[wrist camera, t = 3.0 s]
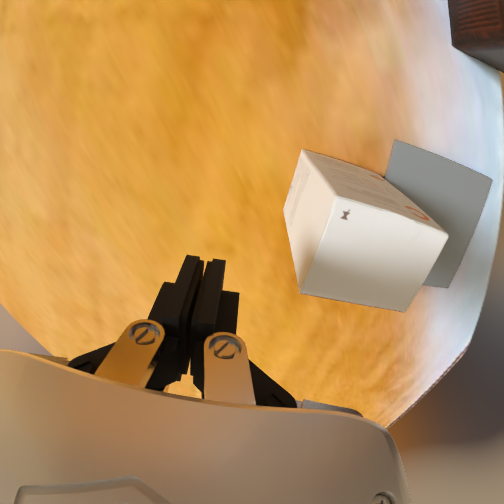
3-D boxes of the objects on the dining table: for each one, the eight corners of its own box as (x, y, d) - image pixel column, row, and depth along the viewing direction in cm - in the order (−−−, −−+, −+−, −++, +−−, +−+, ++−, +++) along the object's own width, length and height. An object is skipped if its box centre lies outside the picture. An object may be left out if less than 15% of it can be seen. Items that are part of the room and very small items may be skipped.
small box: (281, 210, 28) (295, 295, 17) (300, 147, 25) (335, 192, 14) (357, 230, 29) (406, 315, 18) (379, 173, 26) (452, 233, 14)
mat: (394, 139, 24) (398, 140, 23) (488, 177, 25) (492, 179, 24) (353, 272, 31) (355, 276, 31) (445, 284, 32) (447, 288, 31)
